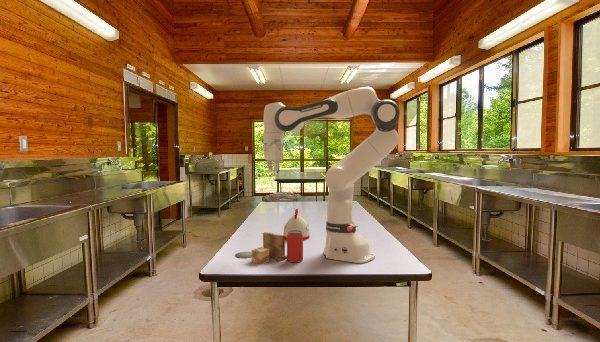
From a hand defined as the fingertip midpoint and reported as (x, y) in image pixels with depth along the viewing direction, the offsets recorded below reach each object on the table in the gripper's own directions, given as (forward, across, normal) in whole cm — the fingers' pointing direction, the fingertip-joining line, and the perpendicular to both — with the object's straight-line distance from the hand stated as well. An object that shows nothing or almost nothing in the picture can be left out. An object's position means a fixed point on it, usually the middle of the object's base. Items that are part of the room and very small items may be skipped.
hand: (273, 170), depth 151 cm
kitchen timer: (+37, +20, -18) cm, 45 cm away
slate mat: (+36, -2, +13) cm, 39 cm away
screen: (+36, -10, +2) cm, 38 cm away
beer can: (+36, -16, -5) cm, 40 cm away
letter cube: (+36, -13, +9) cm, 40 cm away
